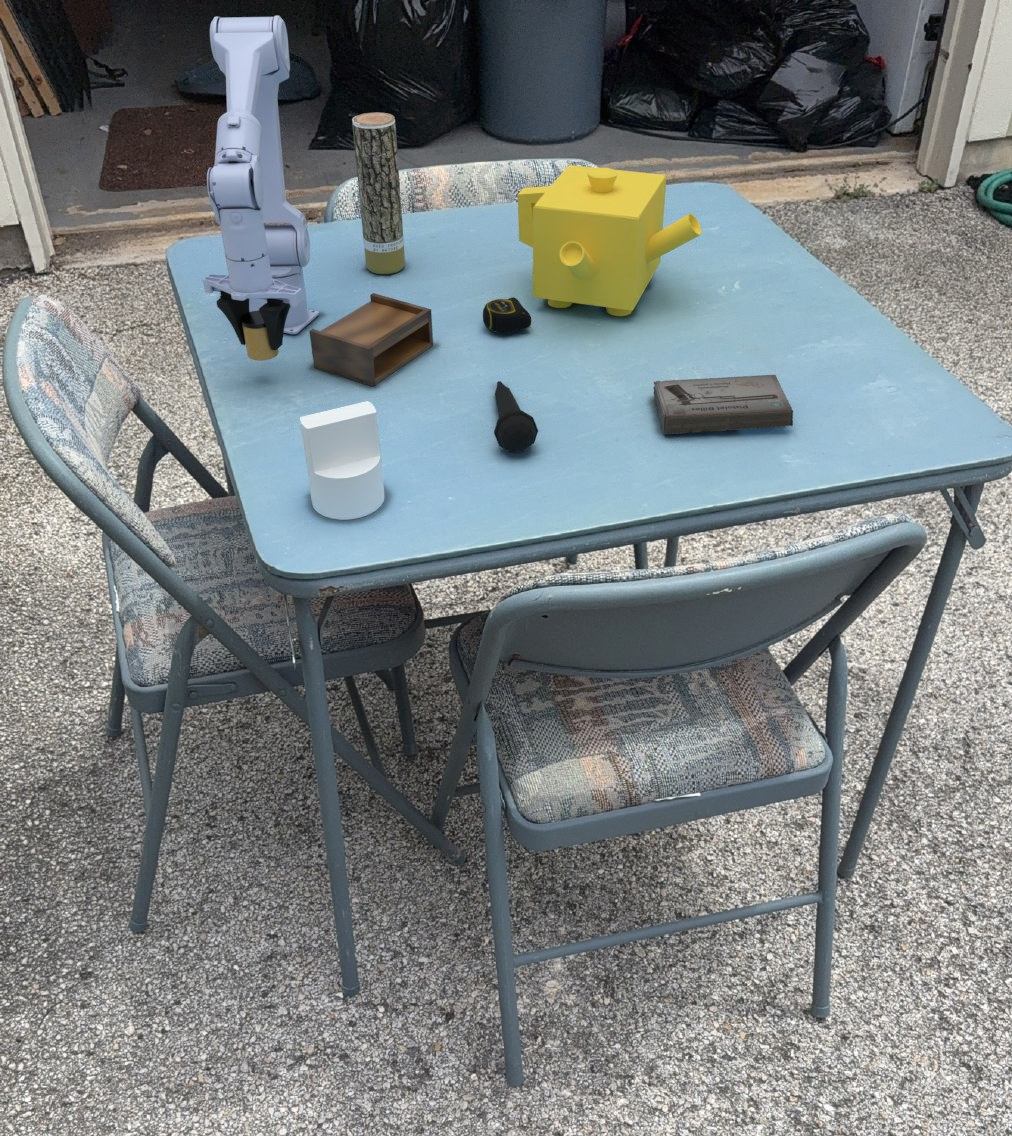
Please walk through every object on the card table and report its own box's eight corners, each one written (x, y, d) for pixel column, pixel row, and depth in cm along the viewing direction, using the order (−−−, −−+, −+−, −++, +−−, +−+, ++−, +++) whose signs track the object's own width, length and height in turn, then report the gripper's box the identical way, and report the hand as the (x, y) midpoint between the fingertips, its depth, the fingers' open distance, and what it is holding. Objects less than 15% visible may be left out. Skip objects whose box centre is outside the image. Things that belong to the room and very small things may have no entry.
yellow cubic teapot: (671, 355, 170) (682, 224, 157) (485, 329, 177) (482, 201, 165) (714, 264, 196) (727, 145, 183) (551, 244, 203) (552, 128, 191)
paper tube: (413, 265, 197) (403, 116, 181) (389, 279, 192) (377, 128, 177) (382, 257, 200) (369, 110, 184) (358, 270, 195) (343, 121, 180)
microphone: (488, 407, 164) (506, 466, 147) (474, 372, 161) (491, 429, 144) (523, 393, 164) (546, 451, 147) (510, 358, 161) (531, 413, 144)
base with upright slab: (325, 527, 136) (313, 441, 129) (302, 489, 143) (290, 406, 135) (395, 508, 139) (387, 423, 132) (370, 471, 146) (361, 389, 138)
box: (792, 430, 151) (795, 409, 149) (663, 436, 151) (664, 416, 149) (775, 392, 160) (777, 372, 158) (652, 398, 160) (653, 378, 158)
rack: (313, 367, 168) (309, 330, 164) (376, 328, 178) (373, 292, 174) (372, 386, 163) (368, 349, 160) (433, 345, 173) (431, 309, 169)
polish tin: (240, 358, 161) (234, 322, 158) (257, 344, 165) (251, 308, 161) (269, 363, 160) (263, 327, 157) (285, 348, 163) (279, 313, 160)
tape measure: (532, 334, 176) (533, 311, 173) (490, 340, 174) (490, 318, 172) (518, 315, 181) (518, 293, 178) (477, 322, 179) (477, 299, 177)
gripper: (184, 257, 152) (202, 348, 161) (278, 272, 148) (292, 365, 157) (212, 237, 157) (228, 327, 166) (305, 251, 153) (316, 342, 162)
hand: (261, 344), depth 162 cm, fingers closed on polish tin, 4 cm apart
